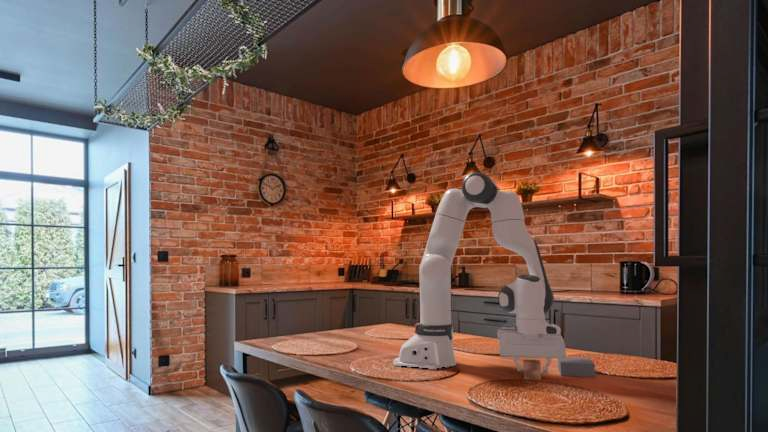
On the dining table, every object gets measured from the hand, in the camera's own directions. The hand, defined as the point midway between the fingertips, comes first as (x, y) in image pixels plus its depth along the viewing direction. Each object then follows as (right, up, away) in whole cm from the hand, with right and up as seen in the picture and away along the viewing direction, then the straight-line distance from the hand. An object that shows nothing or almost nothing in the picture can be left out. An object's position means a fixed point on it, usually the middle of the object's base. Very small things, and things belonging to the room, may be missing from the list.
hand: (532, 371), depth 153 cm
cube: (0, -2, 0) cm, 2 cm away
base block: (+16, -2, +5) cm, 17 cm away
